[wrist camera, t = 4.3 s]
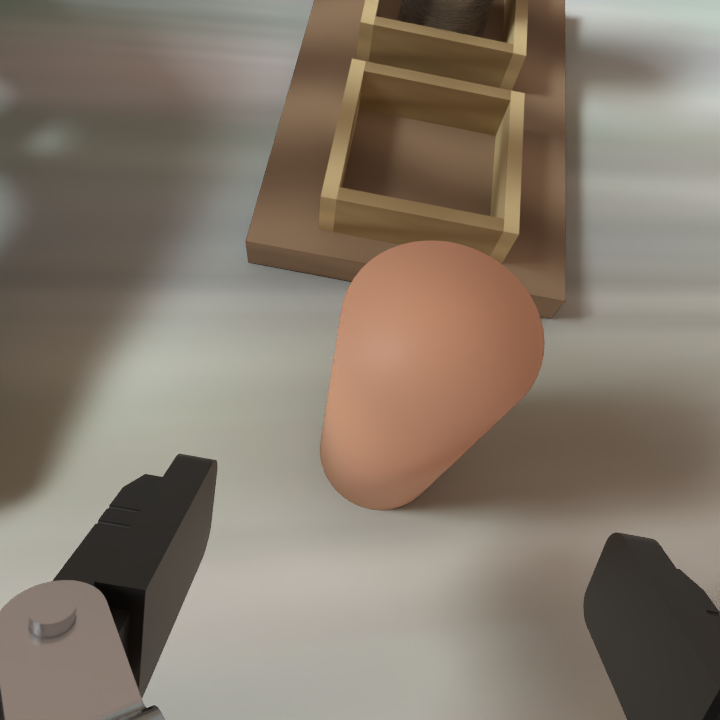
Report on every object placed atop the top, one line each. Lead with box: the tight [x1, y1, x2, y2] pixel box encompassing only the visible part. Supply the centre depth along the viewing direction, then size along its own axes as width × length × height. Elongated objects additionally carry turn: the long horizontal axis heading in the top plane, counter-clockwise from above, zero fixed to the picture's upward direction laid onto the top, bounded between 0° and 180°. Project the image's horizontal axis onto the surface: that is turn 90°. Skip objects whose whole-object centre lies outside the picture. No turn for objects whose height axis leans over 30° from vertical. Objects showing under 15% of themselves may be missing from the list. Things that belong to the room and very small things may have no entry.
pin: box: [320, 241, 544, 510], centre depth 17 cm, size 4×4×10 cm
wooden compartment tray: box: [246, 0, 566, 318], centre depth 27 cm, size 20×13×4 cm, turn 171°
